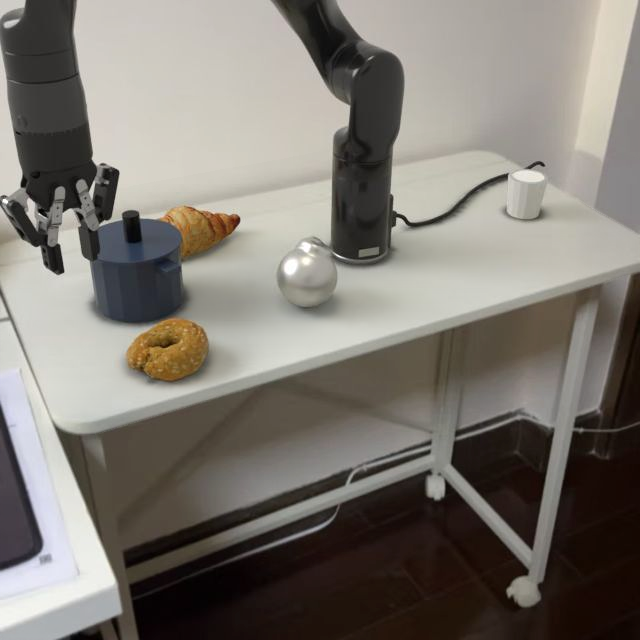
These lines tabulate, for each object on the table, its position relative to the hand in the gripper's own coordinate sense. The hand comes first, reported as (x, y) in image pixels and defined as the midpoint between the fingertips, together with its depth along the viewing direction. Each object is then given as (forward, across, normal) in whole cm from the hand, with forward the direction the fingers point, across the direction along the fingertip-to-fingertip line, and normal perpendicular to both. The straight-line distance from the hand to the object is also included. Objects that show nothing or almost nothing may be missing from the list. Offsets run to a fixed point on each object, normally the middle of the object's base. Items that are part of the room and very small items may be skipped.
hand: (73, 264), depth 97 cm
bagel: (+19, -12, 0) cm, 23 cm away
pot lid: (+10, -18, -16) cm, 26 cm away
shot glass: (+19, -84, +8) cm, 87 cm away
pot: (+19, -18, -16) cm, 31 cm away
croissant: (+19, -34, -24) cm, 46 cm away
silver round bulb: (+19, -36, +2) cm, 41 cm away
